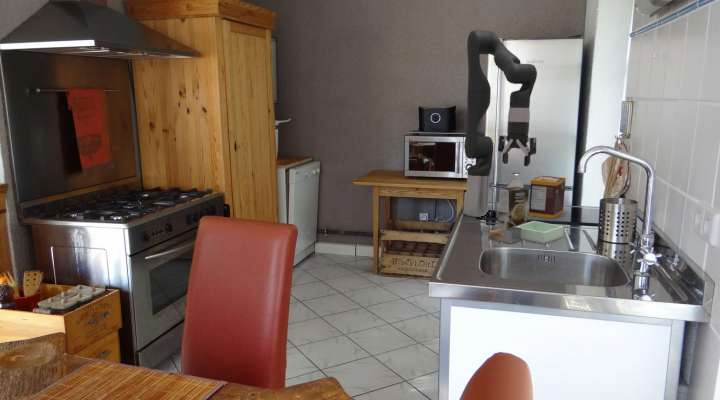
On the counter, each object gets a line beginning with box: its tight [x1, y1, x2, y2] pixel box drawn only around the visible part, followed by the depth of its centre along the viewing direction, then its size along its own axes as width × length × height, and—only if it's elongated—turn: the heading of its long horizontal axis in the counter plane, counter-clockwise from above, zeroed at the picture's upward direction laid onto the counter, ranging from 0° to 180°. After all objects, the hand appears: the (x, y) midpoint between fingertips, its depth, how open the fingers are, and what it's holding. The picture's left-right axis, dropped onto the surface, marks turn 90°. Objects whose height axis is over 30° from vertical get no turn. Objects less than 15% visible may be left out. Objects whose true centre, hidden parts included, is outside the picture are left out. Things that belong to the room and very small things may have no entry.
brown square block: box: [488, 228, 504, 243], centre depth 189 cm, size 6×6×3 cm
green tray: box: [516, 220, 564, 245], centre depth 191 cm, size 12×14×4 cm
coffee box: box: [496, 187, 530, 230], centre depth 199 cm, size 9×6×16 cm
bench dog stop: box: [502, 227, 521, 245], centre depth 185 cm, size 3×6×4 cm, turn 134°
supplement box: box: [528, 175, 567, 220], centre depth 227 cm, size 10×15×16 cm
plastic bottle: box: [506, 172, 525, 188], centre depth 211 cm, size 6×7×20 cm
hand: (515, 164), depth 196 cm, fingers open, 8 cm apart
